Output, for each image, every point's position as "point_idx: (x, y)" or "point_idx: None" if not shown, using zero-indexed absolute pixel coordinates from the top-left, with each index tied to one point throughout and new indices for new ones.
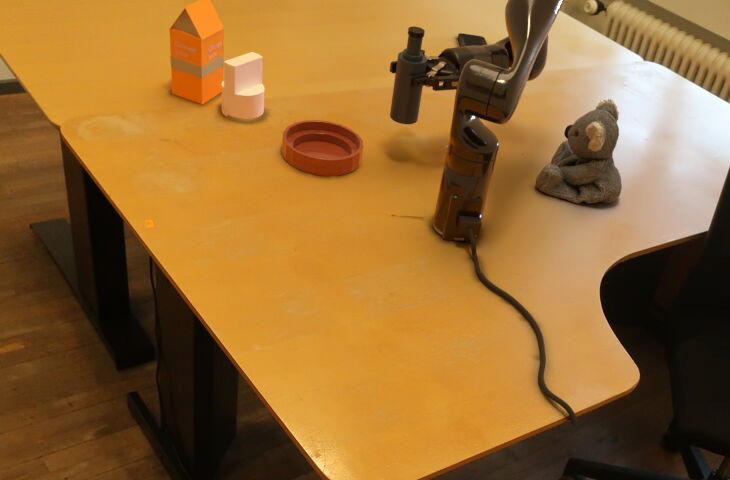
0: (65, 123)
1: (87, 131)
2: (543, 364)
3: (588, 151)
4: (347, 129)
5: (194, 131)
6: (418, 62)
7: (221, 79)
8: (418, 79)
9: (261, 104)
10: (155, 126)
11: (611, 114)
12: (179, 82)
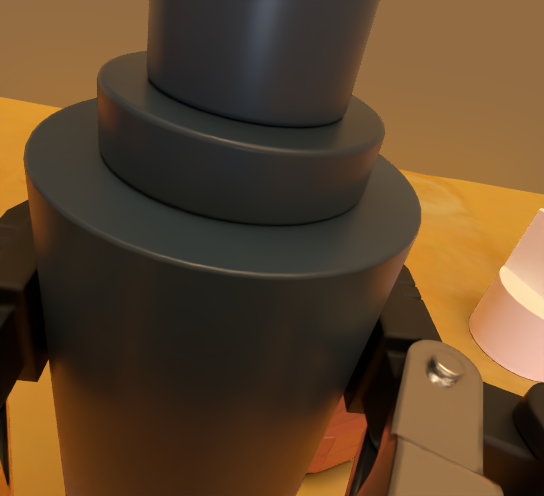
0: (440, 178)
1: (420, 182)
2: None
3: None
4: (334, 426)
5: (423, 250)
6: (81, 119)
7: None
8: (5, 220)
9: (510, 333)
10: (437, 225)
11: None
12: None
